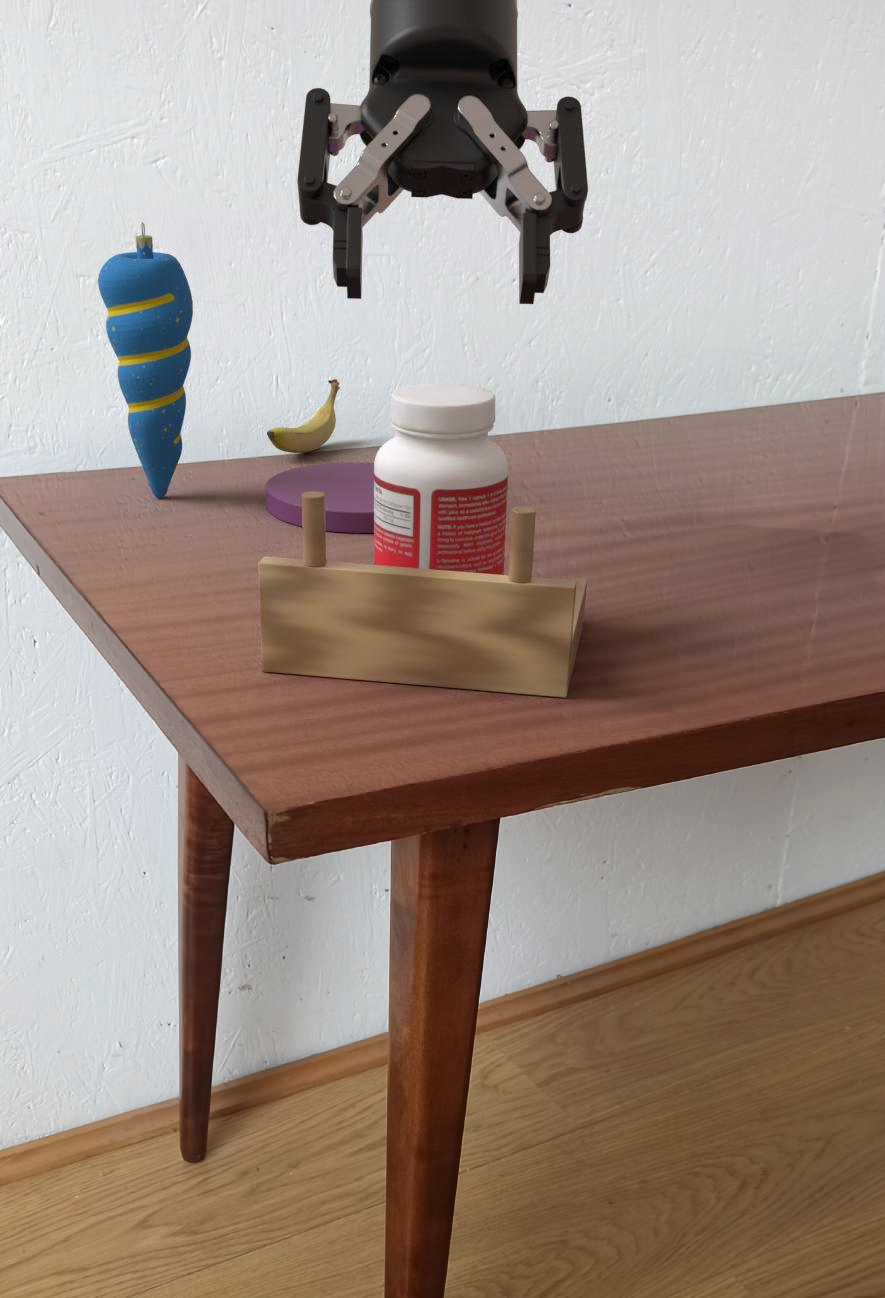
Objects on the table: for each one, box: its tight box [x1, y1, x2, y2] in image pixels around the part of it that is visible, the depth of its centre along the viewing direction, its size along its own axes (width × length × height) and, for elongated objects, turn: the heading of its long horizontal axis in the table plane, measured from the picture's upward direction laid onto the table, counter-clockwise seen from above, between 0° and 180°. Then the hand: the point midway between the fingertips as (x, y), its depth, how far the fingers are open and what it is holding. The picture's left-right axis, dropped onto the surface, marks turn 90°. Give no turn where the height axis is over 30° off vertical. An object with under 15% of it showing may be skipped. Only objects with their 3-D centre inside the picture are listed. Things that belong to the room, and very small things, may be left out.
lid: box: [265, 461, 374, 534], centre depth 91 cm, size 11×11×1 cm
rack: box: [257, 491, 588, 699], centre depth 70 cm, size 14×10×8 cm
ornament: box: [97, 222, 194, 499], centre depth 88 cm, size 5×5×15 cm
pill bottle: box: [373, 383, 509, 575], centre depth 71 cm, size 6×6×11 cm
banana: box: [266, 378, 341, 454], centre depth 101 cm, size 8×2×4 cm, turn 153°
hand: (441, 291), depth 75 cm, fingers open, 8 cm apart
